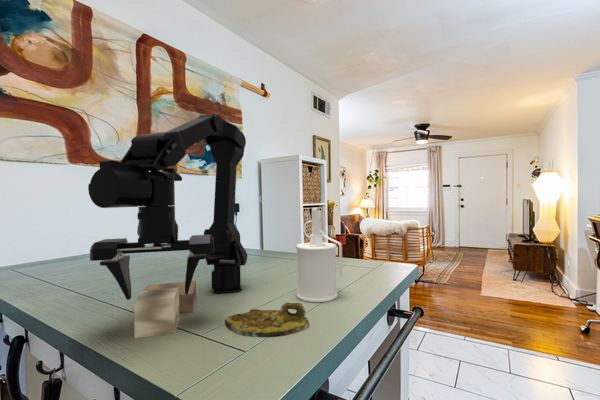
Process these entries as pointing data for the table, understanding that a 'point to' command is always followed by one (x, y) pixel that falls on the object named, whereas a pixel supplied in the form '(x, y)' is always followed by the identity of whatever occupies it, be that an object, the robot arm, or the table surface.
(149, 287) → the walnut block
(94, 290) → the table surface
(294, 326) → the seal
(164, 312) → the maple cube
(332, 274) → the white cylinder with spout
